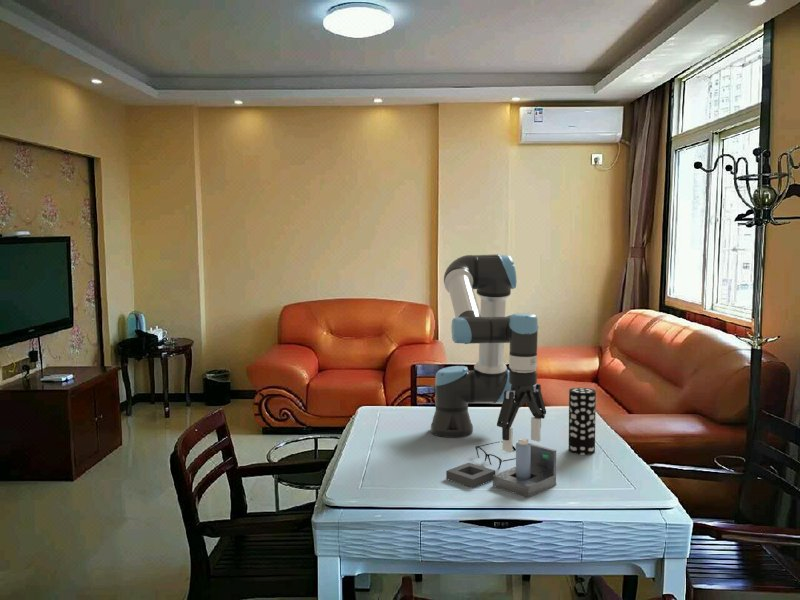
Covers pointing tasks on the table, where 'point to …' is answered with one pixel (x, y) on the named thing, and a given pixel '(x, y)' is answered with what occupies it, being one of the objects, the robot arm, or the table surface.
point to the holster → (476, 474)
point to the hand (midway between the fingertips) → (521, 445)
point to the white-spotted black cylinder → (582, 421)
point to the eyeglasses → (492, 455)
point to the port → (531, 474)
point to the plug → (523, 459)
